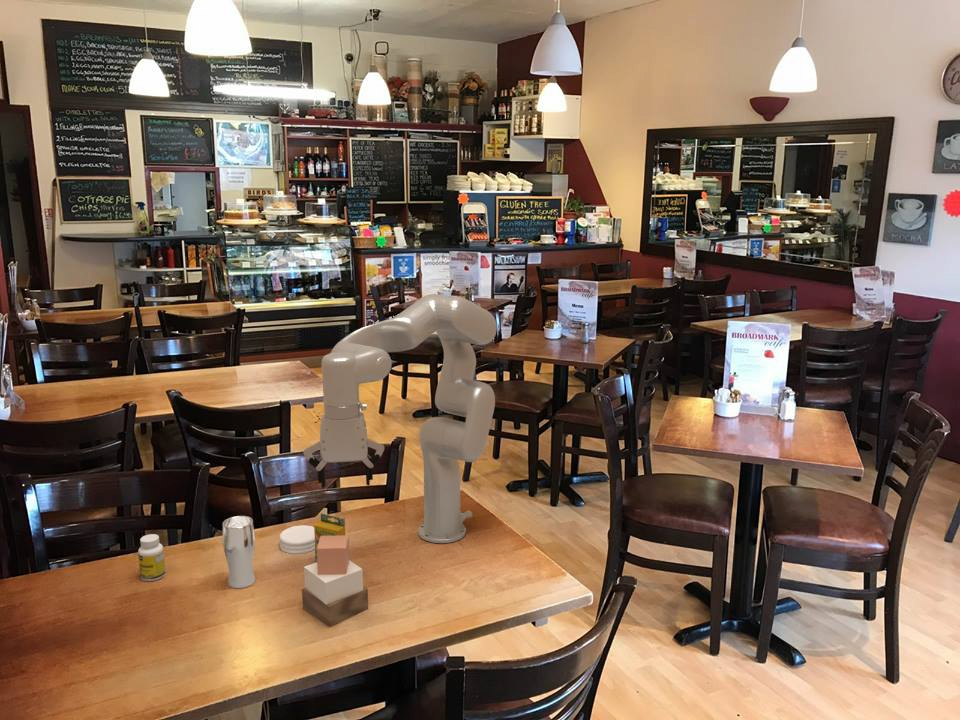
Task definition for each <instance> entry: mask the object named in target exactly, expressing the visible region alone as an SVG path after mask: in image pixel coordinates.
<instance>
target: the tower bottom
mask: <svg viewBox="0 0 960 720" xmlns="http://www.w3.org/2000/svg"><path fill="white" fill-rule="evenodd" d="M368 592H369V590H368V588H366V587H365V586H363V591H360V592H358V593H355V594H353V595H350V596H348V597H345V598H343V599H340V600H337V601H335V602H332V603H330V604H327V605H326V604H325V603H323V602H322V601H321V600H320V599H318V598H317V597H316V596H314V595H313V594H312V593H311V592H309V591H308V590H307V589H306V588H305V587H304V588H301V596H302V598H301V599H302V601H301V602H302V610H304V611H306V613H308V614H310V615H311V616H313V617H314V618H315V619H317V620H318V621H320V622H321V623H323V624H324V625H326V626H327V627H329V628H331V627H333V626H336V625H338V624H340V623H342V622H343V621H346V620H348V619H350V618H352V617H354V616H357V615H359V614H360V613H363V612H364V611H367V610H369V596H368V595H369V593H368Z"/></svg>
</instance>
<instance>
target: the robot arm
mask: <svg viewBox="0 0 960 720" xmlns="http://www.w3.org/2000/svg"><path fill="white" fill-rule="evenodd" d="M497 329H498V326H497V320H496V318H495V317H494V315H493V314H492V313H491V312H490V311H488V310H487V309H485V308H483V307H481V306H479V305H478V304H476V303H474V302H472V301H470V300H468V299H466V298H464V297H461V296H456V295H454V296H453V295H447V294H437V293H436V294H435V293H429V294H426V295H424V296H423V297H421V298H419V299H418V300H416V301H415V302H414V303H412V304H411V305H410V306H408V307H407V308H404V309H403V311H401V312H400V313H399V314H397V315H395V316H394V317H393V318H388V319H385V320H381V321H379V322H376V323H372V324H370V325H367V326H366V325H365V326H364V327H361V328H359V329H356V330H354V331H353V332H351V333H349V334H347V335H346V336H345V337H344V338H342V339H341V340H340V341H338V342H337V343H336V344H335V345H334V347H333V348H332V350H331V351H330V353H328V354H325V355H324V356H323V357H322V359H321V377H322V378H321V379H322V393H323V394H322V395H323V411H324V412H323V413H324V414H322V415H321V418H320V426H319V441H317V442H316V443H313V444H312V445H310V446H307V448H304V450H303V455H304V457H305V459H306V460H307V461H308V463H309V464H310V465H311V466H312V467H313V468H314V469H315V470H316V471H317V479H318V484H321V488H322V489H324V488H326V483H327V481H326V480H327V479H326V477H327V476H326V467H325V465H326V464H328V463H346V462H347V463H348V462H349V463H350V462H361V461H362V463H364V465H365V481H366V482H365V485H366V486H370V483H371V481H373V480H374V479H373V477H374V476H373V475H374V474H373V468H374V466H375V464H377V463H378V461H379V460H380V459H381V457H382V456H383V453H384V451H385V445H383V444H381V443H379V442H376V441H375V440H371V439H370V438H368V431H367V423H366V418H365V415H364V414H365V413H363V411H366V410H367V403H363V402H361V401H360V385H361V384H367V383H375V382H380V381H381V380H383V379H385V378H386V376H388V375H389V373H390V372H391V369H392V365H393V363H392V359H391V356H390V354H389V353H397V352H405V351H410V350H413V349H415V348H417V347H418V346H419V345H420V344H421V343H423V342H424V341H425V340H427V338H429V337H430V336H432V335H433V334H434V333H436V335H437V336H438V338H439V341H440V342H441V346H442V349H443V363H442V366H441V371H440V375H439V377H438V379H439V380H438V381H437V382H438V384H437V386H436V391H435V396H434V398H435V399H434V404H435V406H436V408H437V409H438V410H439V411H441V412H444V413H447V414H451V415H456V416H460V417H463V418H465V422H464V421H461V420H460V421H459V420H456V419H452V418H448V417H442V416H440V417H439V416H433V417H430V418H428V419H426V420H425V421H424V422H423V424H422V425H421V427H420V431H419V444H420V448H421V454H422V459H423V460H422V461H423V523H421V525H419V526H418V529H417V531H418V532H417V533H418V536H419V537H420V538H421V539H423V540H424V541H427V542H429V543H433V544H434V543H435V544H449V543H453V542H457V541H460V540H461V539H463V538H464V537H465V536H466V533H467V528H466V526H465V525H464V522H465V521H466V520H467V519H470V518H472V517H473V512H472V511H471V510H466V511H464V512H462V511H461V467H460V463H459V461H463V462H466V463H467V462H468V463H473V462H476V461H478V460H479V459H480V458H481V457H482V455H483V454H484V451H485V448H486V445H487V441H488V437H489V434H490V433H489V432H490V430H491V429H490V428H491V424H492V420H493V415H494V412H495V406H496V398H495V397H496V396H495V392H494V389H493V388H492V386H491V385H490V384H488V383H486V382H482V381H478V380H474V376H475V371H476V366H477V358H476V353H475V350H474V348H473V346H472V345H479V346H483V345H487V344H490V343H491V342H493V340H494V339H495V337H496V334H497ZM471 344H472V345H471ZM369 448H371V449H373V450H375V453H374V454H373V455H372V457H371V456H370V455H369V454H368V453H369V451H368V450H369ZM317 451H319V453H320V458H319V459H317V458H316V457H315V456H313V453H315V452H317Z"/></svg>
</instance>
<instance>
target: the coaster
mask: <svg viewBox="0 0 960 720" xmlns="http://www.w3.org/2000/svg"><path fill="white" fill-rule="evenodd" d="M279 547H280V550H281V551H282V552H284V553H287V554H293V555H301V554H306V553H310V552H312V551H315V533H314V526H311V525H295V526H294V525H293V526H290V527H288V528H286V529H284V530H283V531H282V532H280V534H279Z"/></svg>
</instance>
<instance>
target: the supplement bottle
mask: <svg viewBox="0 0 960 720" xmlns="http://www.w3.org/2000/svg"><path fill="white" fill-rule="evenodd" d="M139 540H140V541H139V542H140V547H138V548H139V549H138V550H137V551H138V553H137V554H138V555H137V557H138V565H139V575H140V578H141V580H142V581H144V582H156V581H158V579H159V580H160V578H161V579H163V577H165V575H166V563H165V555H164V554H165V553H164V546H163V544H162V543H160V536H159V535H158V534H156V533H155V534H154V533H151V534H146V535H143V536H142V537H141V538H140V539H139ZM155 580H156V581H155Z"/></svg>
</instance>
